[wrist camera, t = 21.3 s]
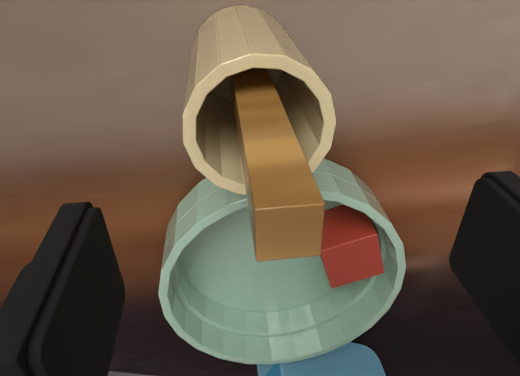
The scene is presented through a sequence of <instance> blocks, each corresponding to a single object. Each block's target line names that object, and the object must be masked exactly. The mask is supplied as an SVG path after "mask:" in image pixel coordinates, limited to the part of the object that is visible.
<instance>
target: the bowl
mask: <svg viewBox="0 0 520 376" xmlns="http://www.w3.org/2000/svg"><path fill="white" fill-rule="evenodd" d="M312 174H313V177H314V179H315V181H316V184H317V186H318V188H319V191H320V193H321V195H322V198H323V200H324V202H325V210H327V209H330V208H334V207H337V206H340V205H343V204H344V205H346V206H349V207H351V208H354V209H356V210H359V211H361V212H364V213H365V214H366V215H367V216H368V218H369V219H370V221H371V223H372V225H373V227H374V228H375V230H376V232H377V234H378V239H379V245H380V250H381V256H382V262H383V267H384V273H383V274H379V275H376V276H373V277H369V278H366V279H363V280H359V281H356V282H352V283H349V284H346V285H342V286H339V287H336V288H331V286H330V283H329V281H328V278H327V275H326V272H325V269H324V266H323V263H322V260H321V257H320V256H313V257H302V258H292V259H281V260H270V261H259V262H258V261H256V258H255V251H254V244H253V237H252V230H251V223H250V216H249V209H248V203H247V196H246V195H241V194H237V193H234V192H232V191H229V190H226V189H223V188H221V187H218V186H216V185H214V184H213V183H212V182H211V181H210V180H209V179H207V178H205V179H204V180H202V181H200V182H199V183H198V184H197V185H196V186H195V187H194V188H193V189H192V190H191V191H190V192H189V193H188V195H187V196H186V197H185V198H184V199H183V200H182V201H181V202H180V203H179V204H178V206H177V208H176V210H175V212H174V214H173V216H172V218H171V220H170V222H169V224H168V226H167V231H166V239H165V246H164V253H163V261H162V268H161V276H160V284H159V292H158V295H159V299H160V303H161V306H162V310H163V314H164V317H165V318H166V320H167V321H168V322H169V324H170V325H171V327H172V328H173V329H174V331H175V332H176V333H177V334H178V336H180V337H181V338H182V339H184V340H185V341H186V342H188V343H189V344H190V345H192V346H193V347H194V348H197V349H198V350H200V351H203V352H205V353H207V354H210V355H212V356H214V357H217V358H220V359H224V360H229V361H234V362H239V363H245V364H268V365H271V364H280V363H288V362H296V361H298V360H299V361H301V360H304V359H308V358H311V357H315V356H319V355H322V354H325V353H328V352H330V351H332V350H334V349H336V348H338V347H341V346H343V345H345V344H347V343H349V342H351V341H352V340H354V339H355V338H357V337H358V336H360V335H361V334H363V333H364V332H366V331H367V330H369V329H370V328H371V327H372V326H373V325H374V324H375V323H376V322H377V321H378V320H379V319H380V318H381V317H382V316H383V315H384V314H385V313H386V312H387V311H388V310H389V308H390V307H391V305H392V303H393V302H394V300H395V298H396V297H397V295H398V293H399V292H400V289H401V287H402V283H403V279H404V275H405V271H406V262H405V253H404V245H403V243H402V241H401V239H400V238H399V236H398V234H397V232H396V231H395V229H394V227H393V225H392V223H391V222H390V220H389V219H388V217H387V215H386V214H385V212H384V211H383V209H382V207H381V206H380V204H379V202H378V201H377V199H376V198H375V196H374V194H373V193H372V191H371V190H370V188H369V187H368V185H367V184H365V183H364V182H363V181H362V180H361V179H360V178H358V177H357V176H356V175H355V174H354V173H353V172H352V171H350V170H349V169H347V168H345V167H343V166H340V165H338V164H336V163H334V162H331V161H329V160H327V159H325V158H324V159H323V160H322V162H321V163H320V165H319V166H318V168H317V169H316V170H315V171H314V172H313V173H312Z"/></svg>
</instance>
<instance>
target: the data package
mask: <svg viewBox="0 0 520 376" xmlns="http://www.w3.org/2000/svg"><path fill="white" fill-rule="evenodd" d="M257 371H258V376H386V374H385V372H384V369H383V367H382V364H381V362H380V360H379V358H378V356H377V355H376V354H375V352H374V351H373V350H371V349H370V348H369V347H367V346H365V345H362V344H357V343H353V342H349V343H347V344H345V345H343V346H341V347H338V348H336V349H334V350H332V351H330V352H328V353H325V354H322V355H319V356H315V357H311V358H308V359H304V360H301V361H299V360H298V361H296V362H288V363H280V364H271V365H268V364H257Z"/></svg>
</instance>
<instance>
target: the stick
mask: <svg viewBox="0 0 520 376" xmlns="http://www.w3.org/2000/svg"><path fill="white" fill-rule="evenodd" d="M229 79H230V85H231V92H232V99H233V106H234V113H235V120H236V127H237V134H238V141H239V147H240V154H241V161H242V168H243V175H244V182H245V189H246V196H247V203H248V209H249V216H250V223H251V230H252V237H253V244H254V251H255V258H256V261H258V262H259V261H270V260H281V259H292V258H302V257H313V256H320V255H321V245H322V234H323V223H324V212H325V202H324V200H323V198H322V195H321V193H320V191H319V188H318V186H317V184H316V181H315V179H314V177H313V174H312V172H311V170H310V167H309V165H308V163H307V160H306V158H305V156H304V153H303V151H302V149H301V147H300V144H299V142H298V140H297V137H296V135H295V133H294V130H293V128H292V126H291V123H290V121H289V119H288V116H287V114H286V112H285V109H284V107H283V105H282V102H281V100H280V98H279V95H278V93H277V91H276V88H275V86H274V84H273V81H272V79H271V77H270V74H269V72H268V70H267V69H264V68H251V69H248V70H245V71H242V72H240V73H237V74H234V75H231V76H229Z"/></svg>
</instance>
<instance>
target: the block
mask: <svg viewBox="0 0 520 376" xmlns="http://www.w3.org/2000/svg"><path fill="white" fill-rule="evenodd" d="M320 257H321V260H322V263H323V266H324V269H325V272H326V275H327V278H328V281H329V283H330V286H331V288H336V287H339V286H342V285H346V284H349V283H352V282H356V281H359V280H363V279H366V278H369V277H373V276H376V275H379V274H383V273H384V267H383V262H382V256H381V250H380V245H379V239H378V234H377V232H376V230H375V228H374V227H373V225H372V223H371V221H370V219H369V218H368V216H367V215H366V214H365V213H364V212H361V211H359V210H356V209H354V208H351V207H349V206H346V205H344V204H343V205H340V206H337V207H334V208H330V209H327V210H325V212H324V223H323V234H322V245H321V255H320Z"/></svg>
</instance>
